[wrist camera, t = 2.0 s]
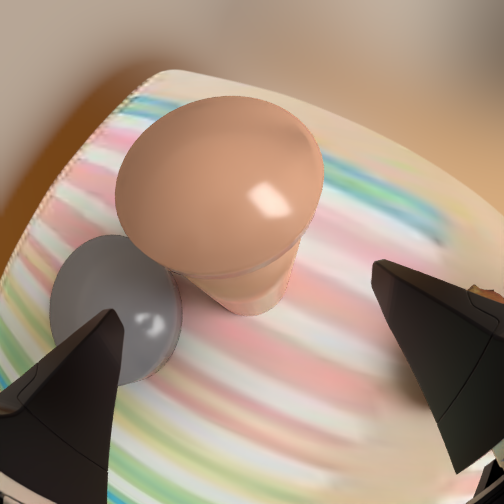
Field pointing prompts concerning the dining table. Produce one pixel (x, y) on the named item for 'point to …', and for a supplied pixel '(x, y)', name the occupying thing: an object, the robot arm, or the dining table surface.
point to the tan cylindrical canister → (223, 197)
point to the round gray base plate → (120, 301)
